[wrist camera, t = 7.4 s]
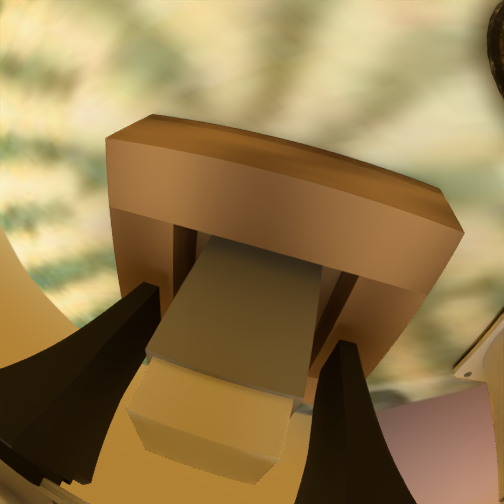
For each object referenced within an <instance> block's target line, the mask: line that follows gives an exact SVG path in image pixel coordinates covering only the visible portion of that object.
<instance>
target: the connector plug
mask: <svg viewBox="0 0 504 504" xmlns="http://www.w3.org/2000/svg"><path fill="white" fill-rule="evenodd" d="M322 267H323V265H320V264H316V263H312V262H309V261H305V260H302V259H298V258H295V257H291V256H287V255H284V254H280V253H277V252H273V251H270V250H266V249H262V248H259V247H255V246H252V245H248V244H244V243H241V242H237V241H234V240H230V239H226V238H223V237H219V236H215V235H212V236H211V238H210V239H209V241H208V243H207V244H206V246H205V248H204V249H203V251H202V253H201V254H200V256H199V258H198V259H197V261H196V263H195V264H194V266H193V268H192V269H191V271H190V273H189V274H188V276H187V278H186V279H185V281H184V283H183V284H182V286H181V288H180V289H179V291H178V293H177V295H176V296H175V298H174V300H173V301H172V303H171V305H170V307H169V308H168V310H167V312H166V313H165V315H164V317H163V319H162V320H161V322H160V324H159V326H158V327H157V329H156V331H155V333H154V334H153V336H152V338H151V340H150V341H149V343H148V345H147V347H146V349H145V351H146V356H147V361H148V367H147V369H146V371H145V372H144V374H143V376H142V378H141V380H140V382H139V384H138V386H137V388H136V390H135V392H134V394H133V395H132V397H131V399H130V401H129V403H128V405H127V407H126V409H127V411H128V414H129V416H130V418H131V420H132V423H133V424H134V427H135V429H136V431H137V433H138V435H139V437H140V439H141V441H142V443H143V445H144V447H145V449H146V450H148V451H150V452H153V453H155V454H157V455H160V456H163V457H165V458H168V459H170V460H173V461H176V462H179V463H182V464H184V465H187V466H190V467H193V468H197V469H199V470H202V471H206V472H209V473H212V474H215V475H219V476H222V477H226V478H229V479H233V480H237V481H241V482H245V483H249V484H253V485H255V484H256V483H257V482H258V481H259V480H260V479H261V478H262V477H263V476H264V475H265V474H266V473H267V472H268V471H269V470H270V469H271V468H272V467H273V466H274V465H275V464H276V463H277V462H278V461H279V460H280V459H281V456H282V451H283V447H284V442H285V437H286V433H287V429H288V424H289V419H290V418H291V416H292V414H293V413H294V412H295V410H296V409H297V407H298V406H299V404H300V403H301V401H302V400H303V398H304V394H305V388H306V382H307V377H308V370H309V364H310V358H311V351H312V345H313V338H314V331H315V324H316V316H317V309H318V301H319V293H320V285H321V276H322Z"/></svg>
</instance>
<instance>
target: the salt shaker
mask: <svg viewBox="0 0 504 504" xmlns="http://www.w3.org/2000/svg"><path fill="white" fill-rule="evenodd" d="M487 46H488V57H489V62H490V66H491V71H492V74H493V77H494V79H495V81H496V84H497V86H498V89H499V91H500V93H501V94H502V96H503V98H504V0H503V1H502V2H500V3H499V4H498V5H497V6H496V8H495V10H494V12H493V14H492V16H491V18H490V22H489V28H488V33H487Z"/></svg>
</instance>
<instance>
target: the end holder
mask: <svg viewBox="0 0 504 504" xmlns="http://www.w3.org/2000/svg"><path fill="white" fill-rule="evenodd" d="M105 141H106V166H107V183H108V196H109V208H110V218H111V227H112V236H113V244H114V252H115V259H116V266H117V273H118V279H119V285H120V291H121V297H122V298H123V297H124V296H126V295H127V294H128V293H129V292H131V291H132V290H133V289H134V288H136V287H137V286H138V285H140V284H141V283H142V282H147V283H150V284H153V285H156V286H159V290H160V307H161V320H162V319H163V317H164V315H165V313H166V312H167V310H168V308H169V307H170V305H171V303H172V301H173V300H174V298H175V296H176V295H177V293H178V291H179V289H180V288H181V286H182V284H183V283H184V281H185V279H186V278H187V276H188V274H189V273H190V271H191V269H192V268H193V266H194V264H195V263H196V261H197V259H198V258H199V256H200V254H201V253H202V251H203V249H204V248H205V246H206V244H207V243H208V241H209V239H210V238H211V236H212V235H215V236H219V237H223V238H226V239H230V240H234V241H237V242H241V243H244V244H248V245H252V246H255V247H259V248H262V249H266V250H270V251H273V252H277V253H280V254H284V255H287V256H291V257H295V258H298V259H302V260H305V261H309V262H312V263H316V264H320V265H323V267H322V276H321V285H320V293H319V301H318V309H317V316H316V324H315V331H314V338H313V345H312V351H311V358H310V364H309V370H308V377H307V382H306V388H305V394H304V398H303V400H302V401H301V402H302V403H306V404H310V405H314V398H315V392H316V388H317V383H318V378H319V374H320V370H321V368H322V367H323V365H324V364H325V362H326V360H327V359H328V357H329V356H330V354H331V352H332V351H333V349H334V347H335V346H336V344H337V342H338V341H339V339H340V340H345V341H349V342H353V343H356V344H357V347H358V351H359V355H360V360H361V364H362V368H363V372H364V375H365V379H366V378H367V377H368V375H369V374H370V373H371V372H372V371H373V369H374V368H375V367H376V366H377V364H378V363H379V362H380V361H381V359H382V358H383V357H384V356H385V354H386V353H387V352H388V350H389V349H390V348H391V346H392V345H393V344H394V343H395V341H396V340H397V339H398V337H399V336H400V334H401V333H402V332H403V330H404V329H405V328H406V326H407V325H408V323H409V322H410V321H411V319H412V318H413V316H414V315H415V313H416V312H417V310H418V309H419V308H420V306H421V305H422V303H423V302H424V300H425V299H426V297H427V296H428V294H429V292H430V291H431V289H432V288H433V286H434V285H435V283H436V281H437V280H438V278H439V277H440V275H441V273H442V272H443V270H444V268H445V267H446V265H447V263H448V262H449V260H450V258H451V257H452V255H453V253H454V251H455V250H456V248H457V246H458V244H459V243H460V241H461V239H462V237H463V235H464V231H463V229H462V227H461V225H460V223H459V222H458V220H457V218H456V216H455V214H454V213H453V211H452V209H451V207H450V205H449V204H448V202H447V200H446V199H445V197H444V195H443V194H442V192H441V190H440V189H438V188H436V187H433V186H431V185H428V184H425V183H423V182H420V181H417V180H415V179H412V178H409V177H407V176H404V175H401V174H398V173H395V172H393V171H390V170H387V169H384V168H381V167H378V166H375V165H372V164H369V163H366V162H362V161H359V160H356V159H353V158H350V157H346V156H343V155H340V154H336V153H333V152H329V151H326V150H322V149H319V148H315V147H311V146H308V145H304V144H300V143H296V142H292V141H288V140H284V139H280V138H276V137H272V136H268V135H263V134H259V133H255V132H250V131H245V130H241V129H236V128H231V127H226V126H221V125H216V124H210V123H205V122H199V121H193V120H187V119H181V118H174V117H168V116H161V115H154V114H152V115H150V116H148V117H146V118H143V119H141V120H139V121H137V122H135V123H133V124H131V125H129V126H127V127H125V128H123V129H122V130H120V131H118V132H116V133H114V134H112V135H110V136H108V137H107V138H105Z"/></svg>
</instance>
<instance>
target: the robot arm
mask: <svg viewBox="0 0 504 504" xmlns="http://www.w3.org/2000/svg"><path fill="white" fill-rule="evenodd" d="M160 322H161V307H160V290H159V286H156V285H153V284H150V283H147V282H142V283H141V284H140V285H138V286H137V287H136V288H134V289H133V290H132V291H131V292H129V293H128V294H127V295H126V296H124V297H123V298H122V299H120V300H119V301H118V302H117V303H115V304H114V305H113V306H111V307H110V308H109V309H107V310H106V311H105V312H103V313H102V314H101V315H99V316H98V317H97V318H95V319H94V320H92V321H91V322H89V323H88V324H86V325H85V326H84V327H82V328H81V329H79V330H78V331H76V332H75V333H73V334H72V335H70V336H68V337H67V338H65V339H63V340H62V341H60V342H58V343H56V344H55V345H53V346H51V347H49V348H47V349H45V350H43V351H41V352H39V353H37V354H35V355H33V356H31V357H29V358H27V359H24V360H22V361H19V362H17V363H15V364H12V365H9V366H7V367H4V368H1V369H0V504H89V503H87V502H85V501H84V500H82V499H80V498H79V497H77V496H75V495H73V494H72V493H70V492H68V491H66V490H65V489H63V488H61V487H60V484H61V482H62V481H64V482H65V483H67V484H69V485H70V484H71V483H72V480H75V481H77V482H78V483H80V484H82V485H85V484H89V483H91V481H92V477H93V474H94V470H95V467H96V463H97V460H98V457H99V454H100V451H101V448H102V445H103V442H104V439H105V437H106V434H107V431H108V429H109V426H110V424H111V421H112V419H113V416H114V414H115V412H116V409H117V407H118V405H119V402H120V400H121V399H122V397H123V395H124V393H125V391H126V389H127V388H128V386H129V384H130V382H131V381H132V379H133V377H134V376H135V374H136V372H137V370H138V369H139V367H140V366H141V364H142V362H143V360H144V359H145V357H146V351H145V349H146V347H147V345H148V343H149V341H150V340H151V338H152V336H153V334H154V333H155V331H156V329H157V327H158V326H159V324H160ZM453 372H454V376H455V377H457V378H462V379H468V380H475V381H482V382H486V383H487V388H488V394H489V399H490V405H491V411H492V418H493V425H494V433H495V442H496V452H497V463H498V484H499V502H501V503H500V504H504V312H503V314H502V315H501V316H500V317H499V319H498V320H497V321H496V322H495V324H494V325H493V326H492V327H491V328H490V330H489V331H488V332H487V333H486V334H485V335H484V337H483V338H482V339H481V340H480V341H479V342H478V343H477V345H476V346H475V347H474V348H473V349H472V350H471V351H470V352H469V353H468V354H467V356H466V357H465V358H464V359H463V360H462V361H461V362H460V363H459V364H458V365H457V366H456V367H455V368H454V370H453ZM294 504H417V503H416V501H415V500H414V498H413V497H412V495H411V493H410V491H409V490H408V488H407V486H406V484H405V482H404V480H403V478H402V476H401V475H400V473H399V471H398V469H397V467H396V465H395V462H394V460H393V458H392V456H391V454H390V451H389V449H388V447H387V444H386V441H385V439H384V436H383V434H382V431H381V428H380V426H379V422H378V420H377V417H376V413H375V410H374V407H373V404H372V400H371V397H370V394H369V390H368V387H367V383H366V379H365V375H364V372H363V368H362V364H361V360H360V355H359V351H358V347H357V344H356V343H353V342H349V341H345V340H340V339H339V341H338V342H337V344H336V346H335V347H334V349H333V351H332V352H331V354H330V356H329V357H328V359H327V360H326V362H325V364H324V365H323V367H322V368H321V370H320V374H319V378H318V383H317V388H316V392H315V398H314V407H313V416H312V425H311V433H310V441H309V449H308V455H307V460H306V465H305V468H304V472H303V476H302V480H301V483H300V487H299V490H298V494H297V497H296V500H295V503H294Z"/></svg>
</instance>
